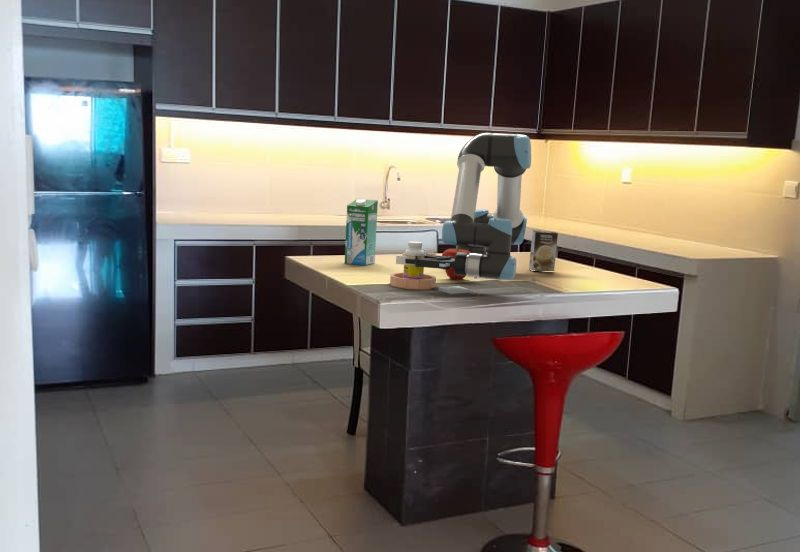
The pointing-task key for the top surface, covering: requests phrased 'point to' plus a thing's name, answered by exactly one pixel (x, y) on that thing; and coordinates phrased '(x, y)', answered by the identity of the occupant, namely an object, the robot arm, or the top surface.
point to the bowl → (413, 282)
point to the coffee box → (543, 251)
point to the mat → (451, 294)
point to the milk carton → (361, 232)
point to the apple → (453, 253)
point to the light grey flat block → (454, 289)
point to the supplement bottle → (412, 270)
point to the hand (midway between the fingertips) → (399, 258)
